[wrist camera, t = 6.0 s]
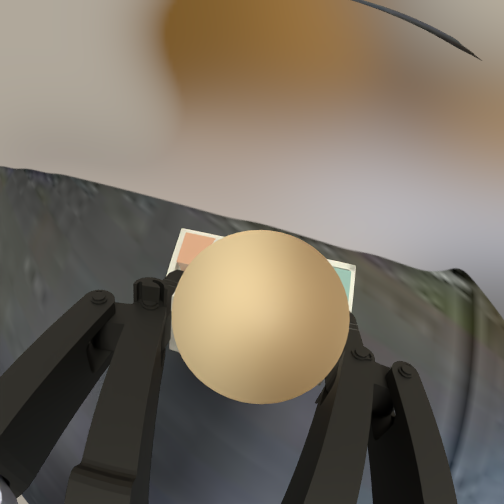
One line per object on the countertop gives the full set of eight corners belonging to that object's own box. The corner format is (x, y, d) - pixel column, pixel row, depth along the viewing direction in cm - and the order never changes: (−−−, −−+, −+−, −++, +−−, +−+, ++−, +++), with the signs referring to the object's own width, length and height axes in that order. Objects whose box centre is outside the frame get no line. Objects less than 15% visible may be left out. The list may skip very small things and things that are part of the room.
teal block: (309, 303, 31) (317, 296, 28) (313, 274, 33) (321, 264, 29) (337, 308, 31) (348, 302, 28) (340, 280, 32) (351, 271, 29)
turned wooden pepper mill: (201, 368, 17) (150, 374, 7) (221, 297, 19) (202, 214, 9) (276, 386, 17) (330, 416, 6) (293, 314, 18) (358, 252, 8)
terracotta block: (182, 271, 32) (176, 261, 29) (190, 244, 33) (185, 232, 30) (211, 278, 32) (208, 269, 28) (218, 251, 33) (216, 238, 30)
